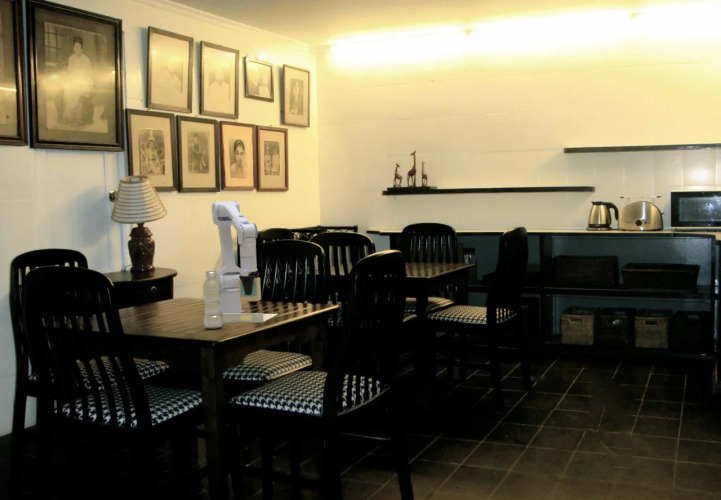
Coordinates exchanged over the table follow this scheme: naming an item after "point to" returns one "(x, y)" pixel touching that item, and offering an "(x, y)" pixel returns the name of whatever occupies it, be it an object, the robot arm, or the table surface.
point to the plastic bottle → (212, 301)
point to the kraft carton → (255, 291)
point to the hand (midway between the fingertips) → (249, 293)
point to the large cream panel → (246, 317)
